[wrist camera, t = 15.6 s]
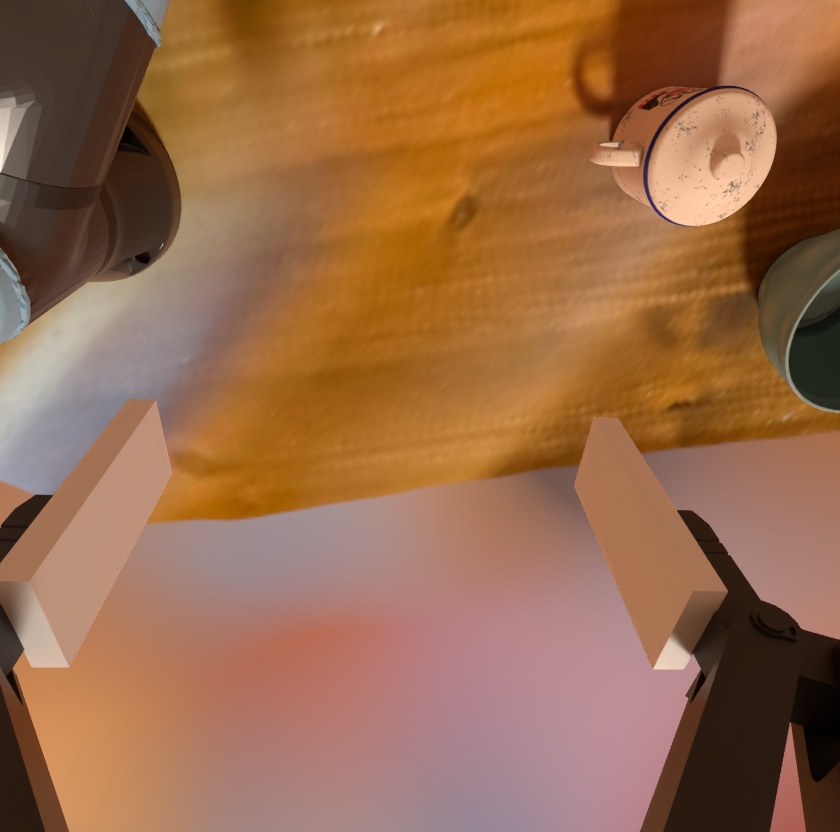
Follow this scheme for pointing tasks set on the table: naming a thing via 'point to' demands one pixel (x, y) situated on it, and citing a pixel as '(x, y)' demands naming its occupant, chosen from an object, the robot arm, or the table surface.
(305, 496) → the table surface
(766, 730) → the robot arm
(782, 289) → the flower pot
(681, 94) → the teacup with lid
